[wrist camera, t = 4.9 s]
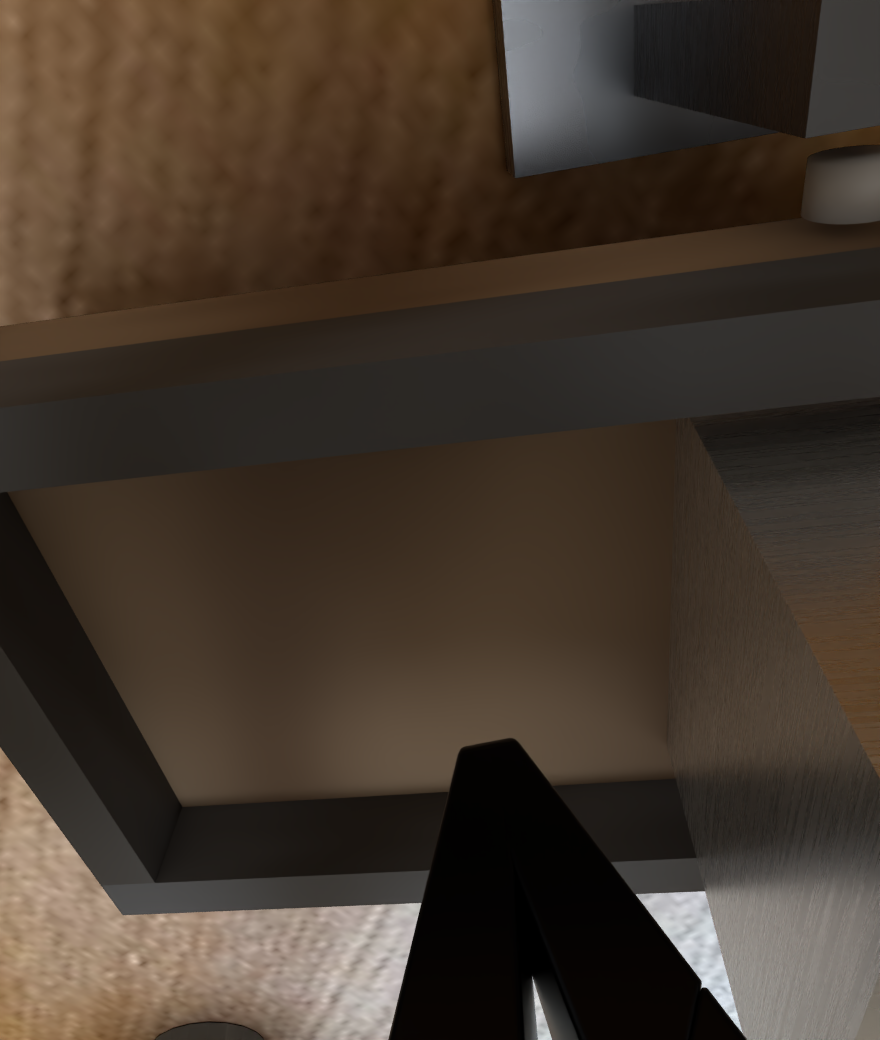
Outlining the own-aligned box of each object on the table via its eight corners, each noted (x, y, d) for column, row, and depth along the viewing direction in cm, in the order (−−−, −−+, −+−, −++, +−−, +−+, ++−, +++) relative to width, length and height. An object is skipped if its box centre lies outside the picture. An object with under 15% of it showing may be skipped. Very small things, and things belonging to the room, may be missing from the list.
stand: (876, -110, 11) (1310, -223, 6) (765, 663, 21) (902, 874, 15) (488, -43, 11) (602, -99, 6) (551, 700, 21) (618, 924, 15)
